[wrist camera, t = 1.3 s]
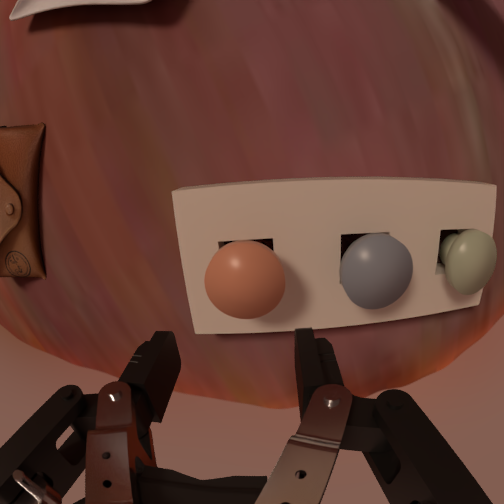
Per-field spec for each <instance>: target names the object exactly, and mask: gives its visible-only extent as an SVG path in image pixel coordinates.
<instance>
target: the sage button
mask: <svg viewBox="0 0 504 504" xmlns="http://www.w3.org/2000/svg"><path fill="white" fill-rule="evenodd" d="M439 254H440V259H441V261H442V263H443V264H445V274H446V278H447V281H448V282H449V284H450V285H451V286H452V287H454V288H455V289H456V290H457V291H458V292H459V293H461V294H463V295H472V294H474V293H476V292H478V291H479V290H481V289H482V288H483V287H484V286H485V285H486V284H487V282H488V281H489V279H490V278H491V276H492V274H493V271H494V268H495V264H496V259H497V250H496V245H495V242H494V240H493V239H492V237H491V236H489V235H488V234H486V233H484V232H482V231H480V230H478V229H468V230H465V231H464V232H462V233H461V234H460V235H459V234H456V233H453V234H450V235H448V236H447V237H446V238H445V239H444V240H443V242H442V244H441V247H440V252H439Z"/></svg>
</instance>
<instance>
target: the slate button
mask: <svg viewBox="0 0 504 504" xmlns="http://www.w3.org/2000/svg"><path fill="white" fill-rule="evenodd" d="M412 274H413V261H412V257H411V254H410V252H409V250H408V249H407V248H406V247H405V245H404V244H402V243H401V242H400V241H398V240H397V239H395V238H394V237H392V236H390V235H388V234H385V233H370V234H367V235H364V236H362V237H360V238H358V239H357V240H355V241H354V242H352V243H351V244H350V246H349V247H348V249H347V250H346V252H345V253H344V255H343V257H342V260H341V263H340V269H339V276H340V281H341V284H342V286H343V288H344V290H345V292H346V294H347V296H348V297H349V299H350V300H351V301H352V302H353V303H354V304H356V305H357V306H359V307H362V308H365V309H380V308H384V307H386V306H388V305H390V304H392V303H394V302H395V301H396V300H398V299H399V298H400V297H401V296H402V295H403V293H404V292H405V291H406V289H407V287H408V286H409V283H410V281H411V278H412Z"/></svg>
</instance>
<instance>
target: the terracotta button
mask: <svg viewBox="0 0 504 504" xmlns="http://www.w3.org/2000/svg"><path fill="white" fill-rule="evenodd" d="M204 284H205V290H206V293H207V296H208V297H209V299H210V301H211V302H212V304H213V305H214V306H215V307H216V308H217V309H219V310H220V311H221V312H223V313H224V314H226V315H228V316H231V317H234V318H238V319H254V318H258V317H261V316H264V315H266V314H268V313H269V312H271V311H272V310H273V309H274V308H275V307H276V306H277V305H278V304H279V302H280V301H281V299H282V297H283V294H284V291H285V275H284V269H283V265H282V263H281V261H280V259H279V257H278V256H277V255H276V253H275V252H274V251H273V250H271V249H270V248H269V247H267V246H266V245H264V244H262V243H259V242H256V241H252V240H238V241H234V242H231V243H228V244H226V245H225V246H223V247H222V248H220V249H219V250H218V251H217V252H216V253H215V254H214V256H213V257H212V259H211V261H210V263H209V265H208V267H207V269H206V272H205V278H204Z"/></svg>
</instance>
